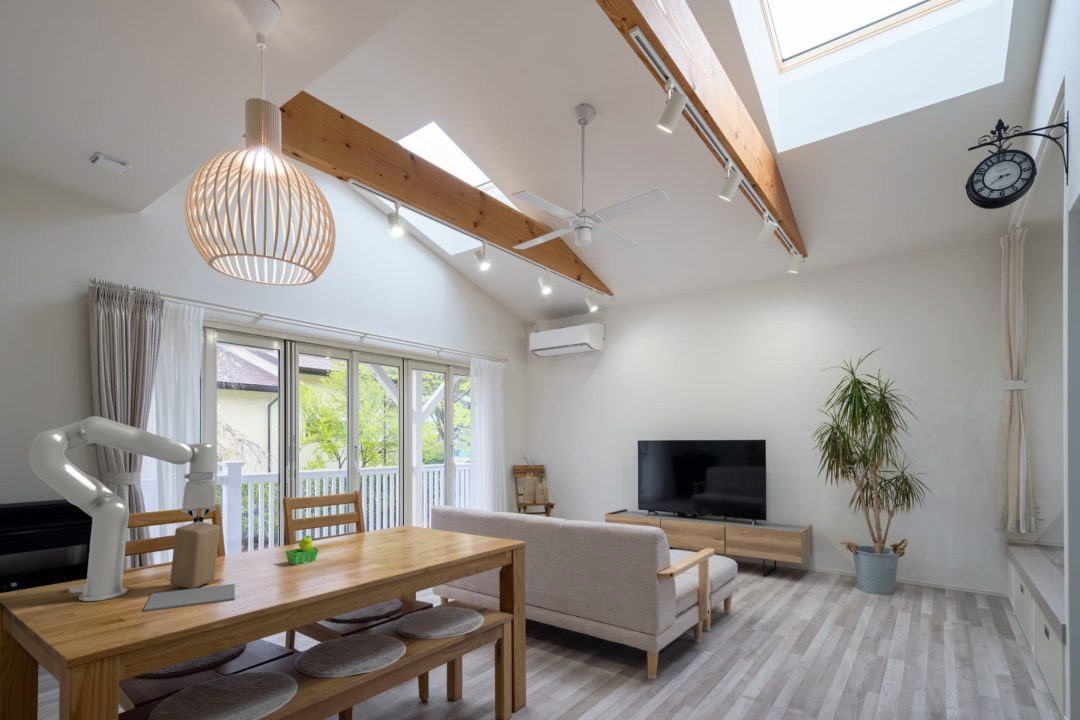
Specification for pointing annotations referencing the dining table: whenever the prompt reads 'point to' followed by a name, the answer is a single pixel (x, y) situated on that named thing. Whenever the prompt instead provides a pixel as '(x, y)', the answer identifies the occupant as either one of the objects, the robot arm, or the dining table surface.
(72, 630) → the dining table surface
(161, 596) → the mat
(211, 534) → the wooden block
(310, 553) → the fruit basket
